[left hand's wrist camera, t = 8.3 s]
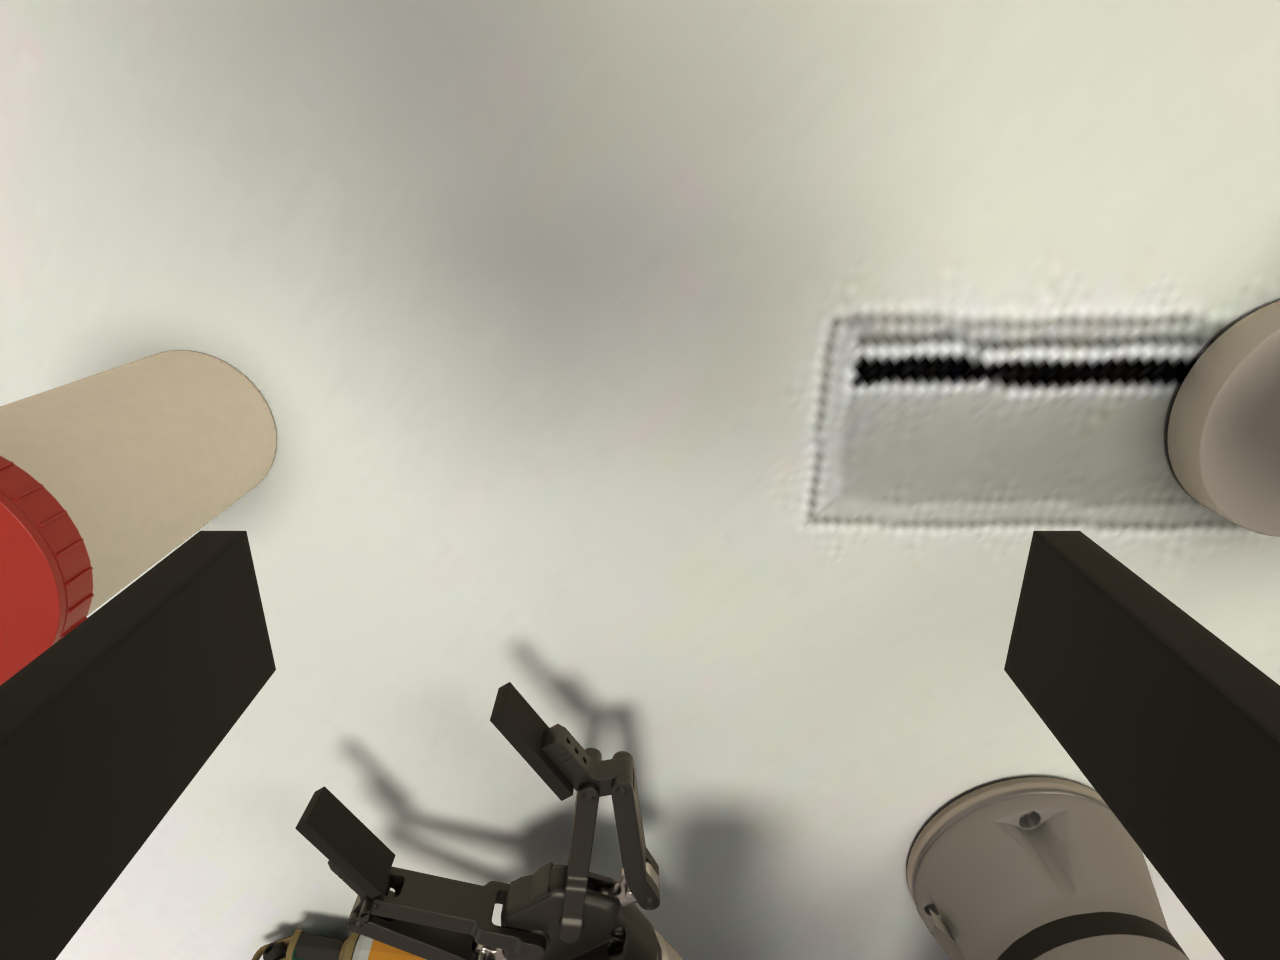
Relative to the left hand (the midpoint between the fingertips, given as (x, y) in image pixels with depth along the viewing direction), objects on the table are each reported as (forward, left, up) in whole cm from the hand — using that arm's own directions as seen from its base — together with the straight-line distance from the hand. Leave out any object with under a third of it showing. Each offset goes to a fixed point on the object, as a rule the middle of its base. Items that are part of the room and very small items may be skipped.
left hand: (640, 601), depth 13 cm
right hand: (+23, -13, -22) cm, 34 cm away
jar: (+6, -24, -28) cm, 37 cm away
